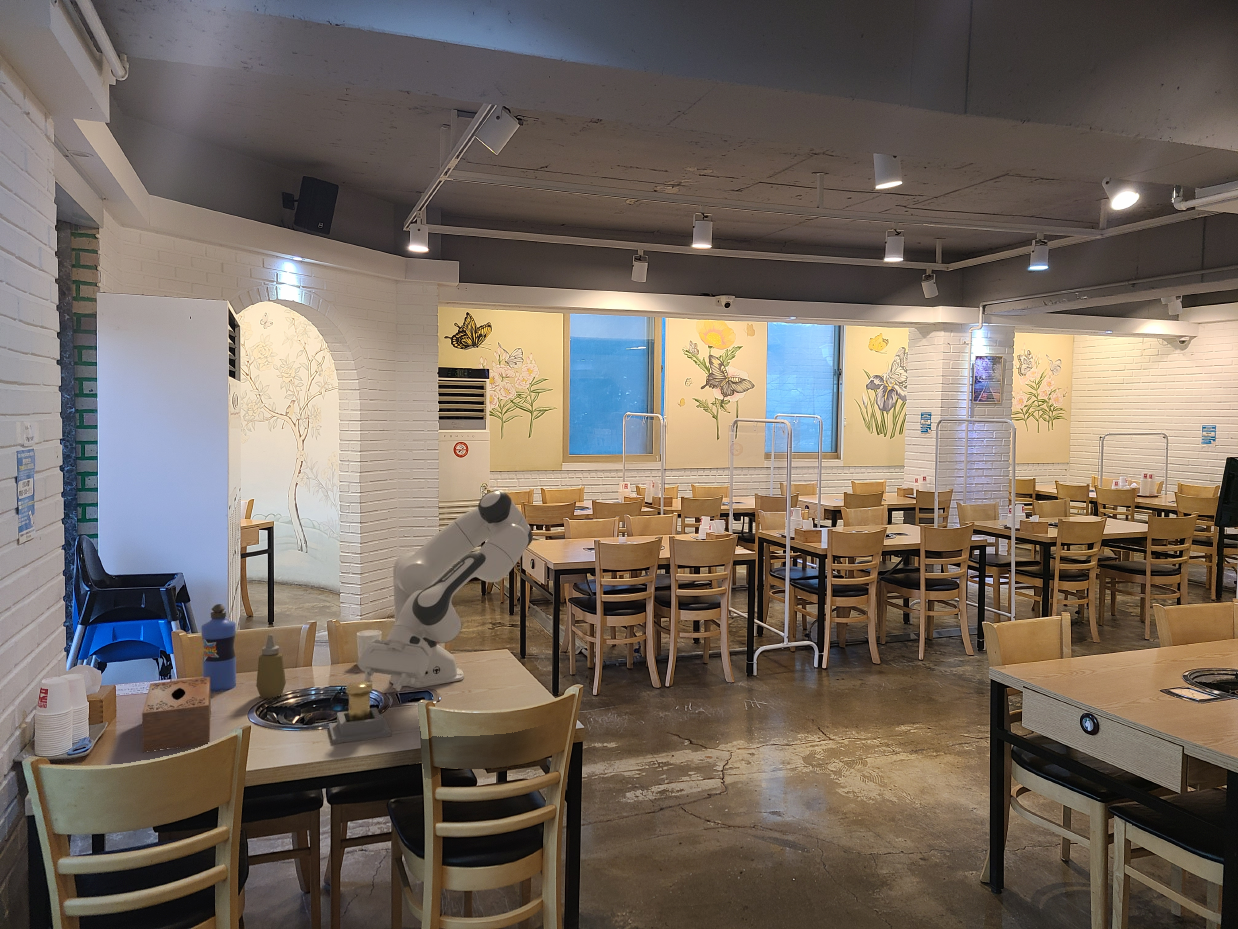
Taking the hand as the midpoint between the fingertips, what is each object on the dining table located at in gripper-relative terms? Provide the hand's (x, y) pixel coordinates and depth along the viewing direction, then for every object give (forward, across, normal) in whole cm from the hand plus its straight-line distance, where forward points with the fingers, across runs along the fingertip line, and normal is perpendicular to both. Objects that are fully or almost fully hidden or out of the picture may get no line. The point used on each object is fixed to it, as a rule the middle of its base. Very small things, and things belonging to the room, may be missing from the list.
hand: (380, 687), depth 227 cm
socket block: (+13, 0, 0) cm, 13 cm away
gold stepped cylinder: (+12, 0, -1) cm, 12 cm away
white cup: (-25, -38, +38) cm, 59 cm away
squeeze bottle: (+3, -42, +10) cm, 43 cm away
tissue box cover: (+25, -43, -12) cm, 51 cm away
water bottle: (+3, -63, +10) cm, 64 cm away
